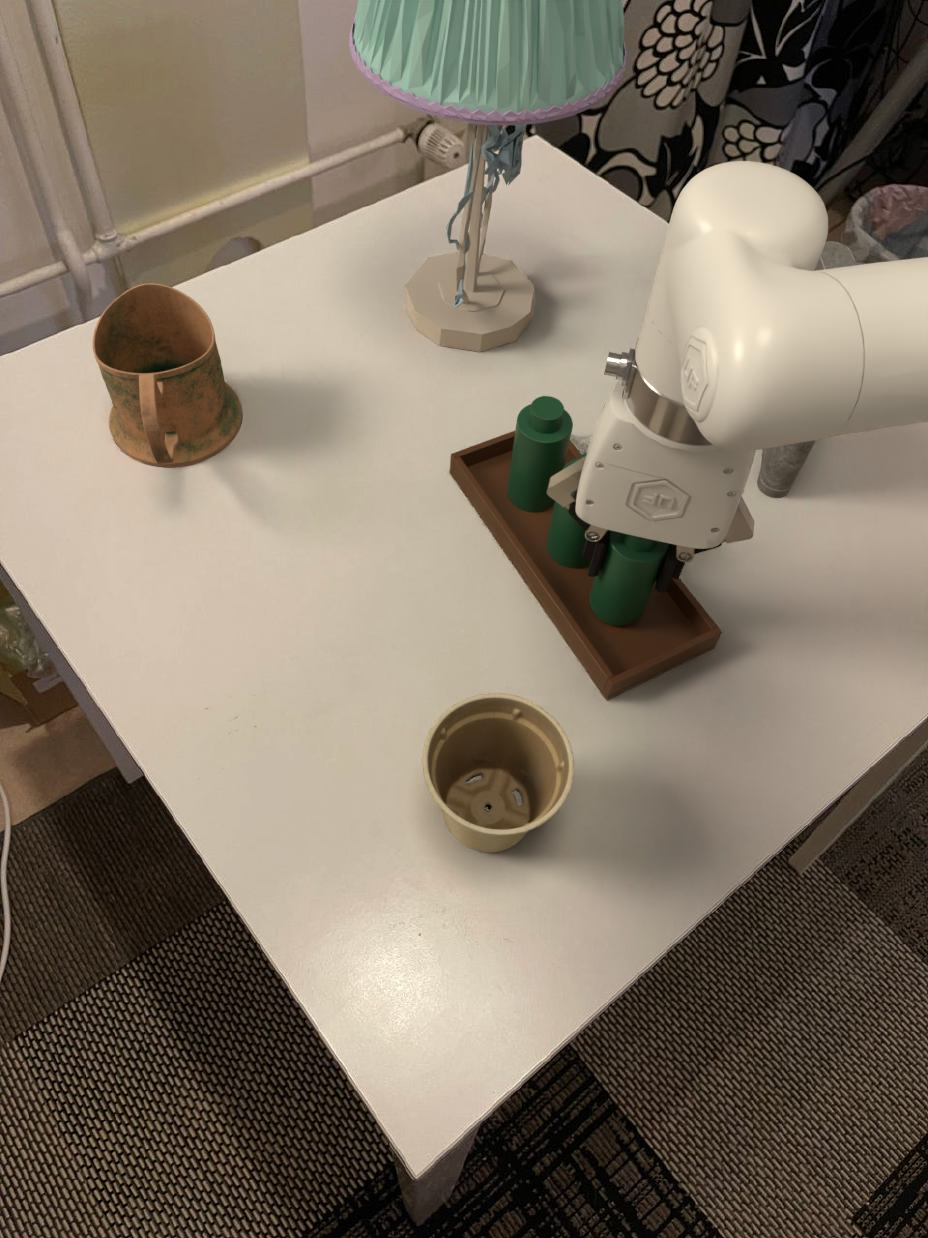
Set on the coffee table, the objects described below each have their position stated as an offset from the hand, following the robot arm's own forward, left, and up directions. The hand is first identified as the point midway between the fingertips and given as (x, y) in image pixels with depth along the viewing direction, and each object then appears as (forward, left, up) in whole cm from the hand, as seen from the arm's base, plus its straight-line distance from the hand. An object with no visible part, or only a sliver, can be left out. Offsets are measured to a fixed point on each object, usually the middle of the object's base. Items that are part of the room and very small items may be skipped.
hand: (628, 568), depth 69 cm
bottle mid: (+6, 0, -5) cm, 8 cm away
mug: (+32, +25, -6) cm, 41 cm away
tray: (+6, 0, -6) cm, 8 cm away
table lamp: (+37, -7, -6) cm, 38 cm away
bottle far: (+13, 0, -5) cm, 14 cm away
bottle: (0, 0, -5) cm, 5 cm away
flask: (+9, -24, -6) cm, 26 cm away
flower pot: (-10, +17, -6) cm, 21 cm away
